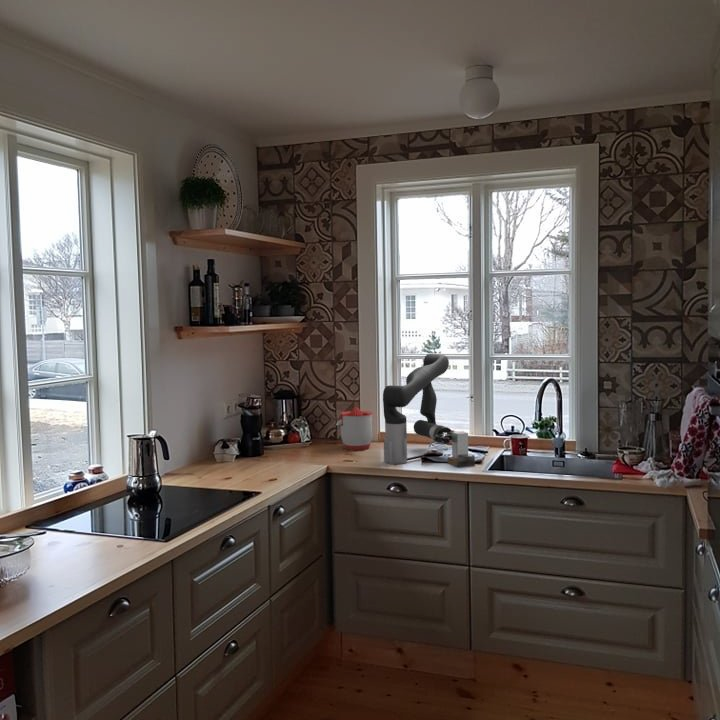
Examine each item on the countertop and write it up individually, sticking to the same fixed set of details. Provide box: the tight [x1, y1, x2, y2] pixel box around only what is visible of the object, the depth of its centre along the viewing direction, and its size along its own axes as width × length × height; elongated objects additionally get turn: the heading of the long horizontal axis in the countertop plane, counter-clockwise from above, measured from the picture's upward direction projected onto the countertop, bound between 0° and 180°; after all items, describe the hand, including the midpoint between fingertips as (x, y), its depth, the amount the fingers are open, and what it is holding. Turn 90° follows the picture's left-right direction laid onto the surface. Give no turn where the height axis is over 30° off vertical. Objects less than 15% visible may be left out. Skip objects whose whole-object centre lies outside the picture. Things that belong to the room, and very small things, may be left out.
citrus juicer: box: [335, 406, 373, 451], centre depth 342 cm, size 16×17×20 cm
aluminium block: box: [451, 430, 469, 459], centre depth 304 cm, size 5×5×11 cm
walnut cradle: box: [447, 455, 476, 468], centre depth 304 cm, size 8×9×4 cm
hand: (457, 440), depth 306 cm, fingers open, 8 cm apart
